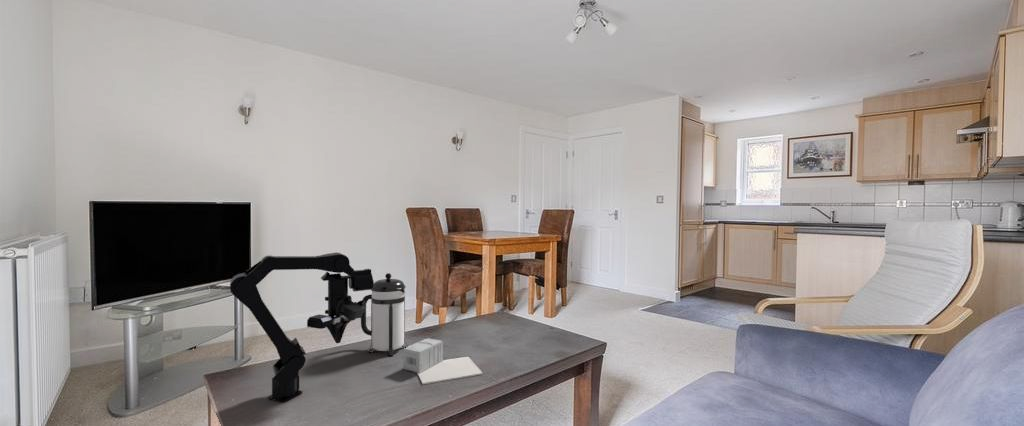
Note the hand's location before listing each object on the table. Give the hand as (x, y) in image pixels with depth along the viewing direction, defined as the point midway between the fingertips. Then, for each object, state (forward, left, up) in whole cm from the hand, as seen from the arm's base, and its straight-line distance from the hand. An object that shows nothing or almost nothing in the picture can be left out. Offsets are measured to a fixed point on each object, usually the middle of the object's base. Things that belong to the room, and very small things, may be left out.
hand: (338, 342), depth 126 cm
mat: (+22, -26, -13) cm, 37 cm away
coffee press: (+30, +6, -13) cm, 33 cm away
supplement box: (+15, -16, -9) cm, 24 cm away
